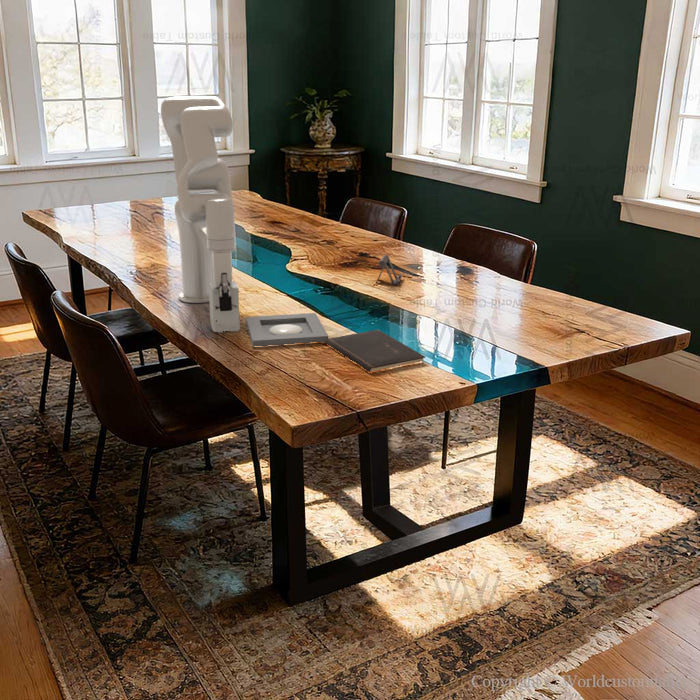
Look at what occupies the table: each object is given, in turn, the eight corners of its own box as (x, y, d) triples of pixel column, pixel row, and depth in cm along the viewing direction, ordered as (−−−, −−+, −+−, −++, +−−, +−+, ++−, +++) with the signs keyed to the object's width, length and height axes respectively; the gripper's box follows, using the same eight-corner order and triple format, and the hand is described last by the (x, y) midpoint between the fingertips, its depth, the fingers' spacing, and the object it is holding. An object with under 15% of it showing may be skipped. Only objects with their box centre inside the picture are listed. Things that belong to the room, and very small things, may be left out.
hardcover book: (378, 337, 217) (378, 329, 216) (425, 365, 198) (425, 356, 197) (326, 347, 209) (326, 338, 209) (369, 376, 191) (369, 367, 190)
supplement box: (213, 333, 216) (211, 289, 212) (210, 325, 223) (207, 282, 219) (240, 331, 218) (238, 287, 214) (236, 323, 225) (234, 280, 221)
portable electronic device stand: (397, 286, 262) (398, 261, 259) (374, 285, 264) (374, 260, 261) (401, 279, 270) (402, 255, 267) (378, 278, 272) (379, 254, 269)
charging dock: (245, 323, 225) (245, 317, 224) (315, 319, 229) (315, 313, 228) (253, 347, 206) (252, 340, 206) (328, 342, 210) (328, 335, 210)
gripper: (205, 238, 219) (209, 298, 225) (208, 251, 204) (212, 315, 209) (233, 237, 221) (235, 296, 227) (238, 250, 205) (241, 313, 211)
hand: (224, 305), depth 218 cm, fingers open, 9 cm apart
